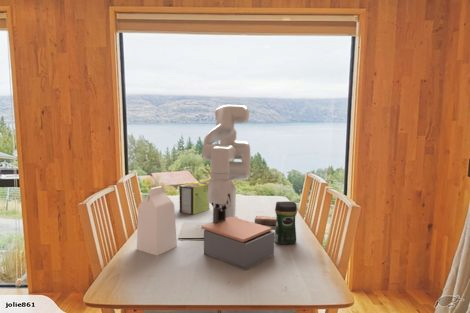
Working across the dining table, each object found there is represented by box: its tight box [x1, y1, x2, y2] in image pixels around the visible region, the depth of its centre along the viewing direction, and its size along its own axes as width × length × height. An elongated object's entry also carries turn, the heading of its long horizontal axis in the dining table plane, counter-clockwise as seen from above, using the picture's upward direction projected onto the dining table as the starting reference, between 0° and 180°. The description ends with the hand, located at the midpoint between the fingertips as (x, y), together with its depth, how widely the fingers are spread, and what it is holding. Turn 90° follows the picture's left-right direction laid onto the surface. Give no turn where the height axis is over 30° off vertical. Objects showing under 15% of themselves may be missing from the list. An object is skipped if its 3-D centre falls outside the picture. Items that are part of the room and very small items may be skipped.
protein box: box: [179, 181, 210, 216], centre depth 203 cm, size 10×15×16 cm
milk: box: [136, 185, 178, 256], centre depth 146 cm, size 12×12×26 cm
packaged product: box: [254, 215, 276, 230], centre depth 179 cm, size 18×5×10 cm
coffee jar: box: [274, 201, 298, 245], centre depth 156 cm, size 10×8×19 cm
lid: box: [201, 207, 273, 242], centre depth 141 cm, size 22×18×7 cm
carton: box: [203, 229, 275, 271], centre depth 142 cm, size 22×18×10 cm
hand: (219, 218), depth 148 cm, fingers closed on lid
